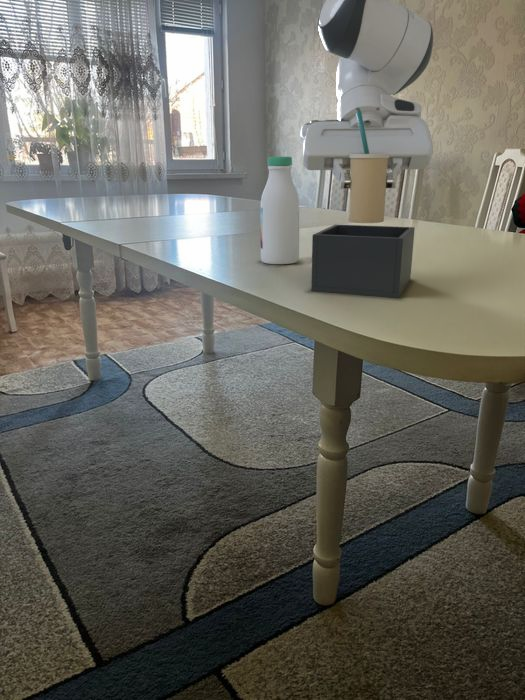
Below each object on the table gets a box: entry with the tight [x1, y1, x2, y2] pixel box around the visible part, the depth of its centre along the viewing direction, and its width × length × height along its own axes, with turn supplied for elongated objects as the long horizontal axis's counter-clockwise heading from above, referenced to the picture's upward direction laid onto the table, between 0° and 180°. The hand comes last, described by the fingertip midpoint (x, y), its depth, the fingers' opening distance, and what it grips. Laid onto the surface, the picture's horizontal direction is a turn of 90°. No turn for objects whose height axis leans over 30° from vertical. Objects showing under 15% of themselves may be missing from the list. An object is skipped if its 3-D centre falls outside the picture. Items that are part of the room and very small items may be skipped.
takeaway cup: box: [347, 110, 390, 224], centre depth 83 cm, size 6×6×16 cm
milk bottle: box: [259, 156, 300, 265], centre depth 106 cm, size 8×8×20 cm
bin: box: [310, 223, 416, 299], centre depth 88 cm, size 14×14×9 cm
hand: (368, 185), depth 83 cm, fingers closed on takeaway cup, 5 cm apart
